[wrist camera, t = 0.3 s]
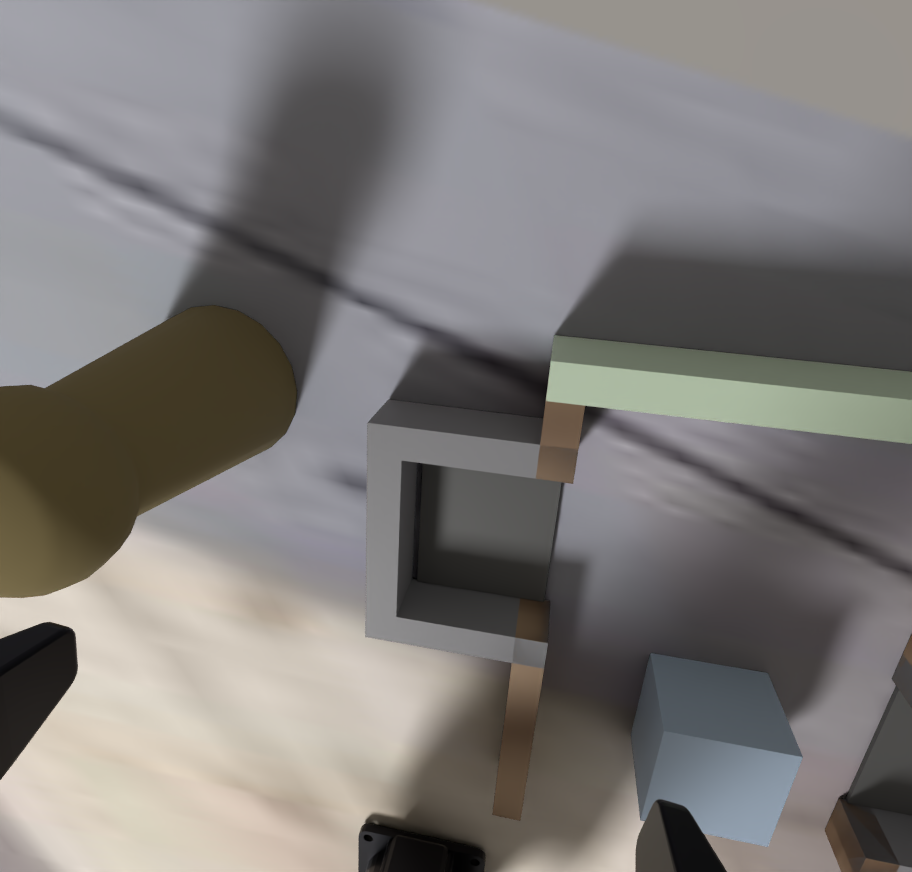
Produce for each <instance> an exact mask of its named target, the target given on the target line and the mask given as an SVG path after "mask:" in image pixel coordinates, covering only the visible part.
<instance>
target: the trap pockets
mask: <svg viewBox="0 0 912 872" xmlns="http://www.w3.org/2000/svg"><path fill="white" fill-rule="evenodd" d="M542 425H543V418H536V417H528V416H520V415H512V414H504V413H495V412H487V411H479V410H471V409H462V408H454V407H446V406H438V405H430V404H421V403H413V402H405V401H397V400H388V401H387V402H386V403H385V404H384V405H383V406H382V407H381V408H380V409H379V411H378V412H377V413H376V414H375V415H374V416H373V417H372V418H371V419H370V421H369V422H368V423H367V521H366V621H365V637H369V638H374V639H380V640H386V641H391V642H397V643H402V644H408V645H413V646H419V647H425V648H430V649H436V650H441V651H447V652H453V653H458V654H464V655H469V656H475V657H480V658H486V659H492V660H497V661H503V662H508V663H512V662H513V661H514V662H513V663H514V664H517V663H519V664H521V665H522V664H523V663H524V664H523V665H525V666H531V667H534V666H535V667H536V666H537V667H536V668H540V667H541V668H542V667H543V666H545V662H544V661H545V660H546V657H544V656H546V653H547V646H548V643H547V642H545V643H544V641H543V643H542V642H537V641H532V640H531V641H530V640H526V639H520V638H517V639H516V638H515V635H516V627H517V619H518V611H519V603H520V598H522V599H529V600H535V601H541V602H544V598H545V591H546V584H547V578H548V571H549V564H550V557H551V550H552V544H553V537H554V530H555V523H556V517H557V510H558V503H559V496H560V490H561V483H562V482H557V481H553V480H552V479H551V480H552V481H551V480H550V481H549V480H548V479H547V480H542V478H541V477H542V476H541V477H540V478H541V479H537V478H536V476H537V475H536V473H537V465H538V461H539V460H538V458H539V456H540V455H539V449H540V448H541V446H540V442H541V433H542ZM544 447H545V446H544ZM552 447H553V446H552ZM545 448H547V446H546V447H545ZM555 448H556V447H555ZM548 449H549V448H548ZM556 449H558V448H556ZM559 449H560V448H559ZM560 450H561V449H560ZM562 450H563V451H564V452H566V451H567V450H568V448H567V450H564V449H562ZM573 450H575V449H573ZM543 451H544V450H543ZM553 451H554V450H553ZM555 451H556V450H555ZM557 451H559V450H557ZM570 451H572V449H570ZM570 451H569V452H570ZM551 452H552V451H551ZM561 452H562V451H561ZM561 452H560V453H561ZM576 452H577V449H576ZM576 452H575V453H576ZM545 453H546V452H545ZM548 453H549V452H548ZM552 453H553V452H552ZM556 453H557V452H556ZM572 453H573V452H572ZM572 453H571V455H574V453H573V454H572ZM564 454H565V453H564ZM566 454H567V453H566ZM543 455H544V454H543ZM558 455H559V454H558ZM556 456H557V454H556ZM560 456H561V455H560ZM560 456H559V457H560ZM562 456H563V455H562ZM562 456H561V458H563V457H562ZM545 457H548V455H547V456H545ZM551 457H552V456H551ZM559 457H558V458H559ZM564 457H565V455H564ZM567 457H568V456H566V458H567ZM542 458H543V457H542ZM553 458H554V457H553ZM556 458H557V457H556ZM561 458H560V459H561ZM570 458H571V456H570ZM574 458H575V457H574ZM544 459H545V458H544ZM545 460H546V459H545ZM557 460H558V459H557ZM561 460H562V459H561ZM563 460H564V459H563ZM565 460H566V459H565ZM565 460H564V461H565ZM569 460H570V459H569ZM571 460H572V459H571ZM571 460H570V461H571ZM550 461H551V460H550ZM572 461H573V460H572ZM572 461H571V462H572ZM543 462H544V461H543ZM551 462H552V461H551ZM553 462H554V461H553ZM556 462H557V461H556ZM559 462H560V461H559ZM574 462H575V461H574ZM574 462H573V463H574ZM417 463H423V470H422V490H421V510H420V531H419V551H418V572H417V579H412V573H413V551H414V529H415V507H416V484H417ZM563 463H564V462H563ZM542 464H543V463H542ZM544 464H545V463H544ZM548 464H549V463H548ZM550 464H551V463H550ZM556 464H557V463H556ZM561 464H562V463H561ZM569 464H570V463H569ZM545 465H546V464H545ZM559 465H560V463H559ZM571 465H572V464H571ZM572 466H573V465H572ZM552 467H553V466H552ZM562 467H563V466H562ZM562 467H561V469H562ZM547 468H548V467H547ZM567 468H569V466H568V467H567ZM571 468H572V467H571ZM552 470H553V469H552ZM566 470H567V469H566ZM568 470H569V469H568ZM542 471H543V469H542ZM554 471H555V470H554ZM560 471H561V470H560ZM544 472H545V471H544ZM566 472H568V471H566ZM556 473H557V471H556ZM562 473H563V471H562ZM570 473H571V472H570ZM539 474H540V473H539ZM547 474H548V473H547ZM559 474H560V473H559ZM540 475H541V474H540ZM554 475H555V474H554ZM557 475H558V474H557ZM557 475H556V476H557ZM545 476H546V475H545ZM551 476H552V475H551ZM558 476H560V475H558ZM563 476H564V475H563ZM569 476H570V475H569ZM549 477H550V475H549ZM573 477H574V475H573ZM573 477H572V478H573ZM547 478H548V477H547ZM564 478H565V477H564ZM568 478H569V477H568ZM568 478H567V479H568ZM572 478H571V479H572ZM543 479H544V478H543ZM565 479H566V478H565ZM556 480H557V479H556ZM558 481H559V480H558ZM571 481H572V480H571ZM565 483H566V482H565ZM545 601H547V600H545ZM540 604H541V603H540ZM543 604H544V603H543ZM545 604H547V605H546V606H548V604H549V606H548V607H549V609H550V602H549V601H548V603H545ZM546 606H545V605H544V608H545V607H546ZM541 607H542V606H541ZM541 607H540V608H541ZM542 609H543V608H542ZM545 609H547V608H545ZM549 609H548V610H547V611H546V612H545V613H544V614H545V615H546V613H547V615H548V617H549V614H550V610H549ZM548 611H549V613H548ZM537 612H538V611H537ZM544 614H543V615H544ZM540 615H541V614H540ZM547 615H546V616H547ZM535 616H536V615H535ZM544 617H545V616H544ZM548 617H546V618H547V620H546V621H545V619H544V618H543V619H544V620H543V619H542V620H543V622H544V621H545V622H546V623H547V621H548V622H549V620H548ZM532 618H533V617H532ZM545 622H544V623H545ZM547 625H548V623H547ZM547 625H546V626H545V627H546V628H547V629H546V628H545V629H546V630H548V631H549V629H548V628H549V627H548V626H549V625H548V626H547ZM540 626H541V625H540ZM542 626H544V625H542ZM542 626H541V627H542ZM545 629H544V630H545ZM544 630H543V631H544ZM548 631H546V632H548ZM541 634H542V633H541ZM541 634H540V635H541ZM547 634H549V632H548V633H547ZM547 634H546V635H547ZM542 636H543V638H544V636H545V633H544V635H542ZM542 636H539V638H540V637H542ZM541 639H542V638H541ZM545 639H546V640H545V641H547V640H548V636H546V637H545ZM518 640H519V642H518ZM524 640H525V641H524ZM534 640H535V639H534ZM543 640H544V639H543ZM516 641H517V642H516ZM541 641H542V640H541ZM520 642H521V643H520ZM524 642H525V643H524ZM516 643H517V644H516ZM523 643H524V644H523ZM539 643H540V644H539ZM527 644H528V646H527ZM530 644H531V645H530ZM518 645H520V647H519V646H518ZM522 645H523V646H522ZM529 645H530V646H529ZM535 645H536V646H535ZM515 646H517V647H515ZM537 646H538V647H537ZM521 647H522V649H521V650H520V648H521ZM531 647H532V648H531ZM545 647H546V648H545ZM514 648H515V649H514ZM516 649H517V650H518V652H520V653H518V652H517V650H516ZM527 649H528V650H529V649H531V650H529V651H528V652H527ZM515 650H516V652H515ZM522 650H523V651H522ZM524 650H525V651H524ZM532 650H533V651H532ZM537 650H538V651H537ZM513 651H514V652H513ZM535 651H536V652H535ZM540 651H541V652H540ZM517 653H518V654H517ZM527 653H528V654H527ZM516 654H517V655H516ZM540 654H541V655H540ZM513 655H514V656H513ZM518 655H519V656H518ZM524 655H525V658H524ZM526 655H527V657H526ZM529 655H531V656H529ZM537 655H538V656H537ZM542 655H543V656H542ZM515 656H516V657H515ZM528 656H529V657H528ZM534 656H535V657H534ZM513 657H515V659H514V658H513ZM520 657H521V658H520ZM531 657H532V658H533V659H532V658H531ZM902 657H904V656H903V655H902ZM902 657H901V658H902ZM516 658H517V659H516ZM518 658H519V659H518ZM540 658H541V659H540ZM523 659H525V660H523ZM526 659H527V660H526ZM904 659H905V658H904ZM904 659H902V660H903V661H904ZM512 660H513V661H512ZM516 660H517V661H516ZM518 660H519V661H520V660H521V661H520V662H521V663H520V662H519V661H518ZM542 660H543V661H542ZM900 660H901V659H900ZM902 660H901V661H900V662H901V665H902V663H904V665H902V666H901V668H900V666H899V665H900V664H898V666H897V668H896V671H895V673H894V675H893V678H892V680H893V681H894V680H895V679H896V680H895V681H894V683H895V682H896V688H895V690H894V692H893V695H892V697H891V699H890V701H889V703H888V706H887V708H886V710H885V712H884V715H883V717H882V719H881V721H880V724H879V726H878V728H877V730H876V732H875V735H874V737H873V739H872V741H871V744H870V746H869V748H868V750H867V752H866V755H865V757H864V759H863V761H862V764H861V766H860V768H859V770H858V772H857V775H856V777H855V779H854V781H853V784H852V786H851V788H850V790H849V792H848V795H847V797H846V799H841V798H840V799H841V801H843V800H844V803H846V802H847V803H848V804H849V803H850V804H852V805H853V806H851V807H853V808H854V806H855V805H856V807H858V806H859V809H860V811H861V810H863V809H864V810H865V813H866V814H867V816H866V815H864V817H865V816H866V817H867V818H866V817H865V818H864V819H868V818H871V817H872V815H874V816H876V817H874V816H873V819H874V818H876V819H877V820H878V821H877V820H875V819H874V820H875V822H876V821H877V822H878V823H879V824H880V826H881V828H882V829H881V828H880V827H878V831H879V832H880V831H881V830H882V831H883V832H881V833H882V834H883V835H884V836H883V835H882V838H880V837H879V838H880V839H883V837H885V836H886V837H885V838H886V839H887V841H886V840H884V839H883V840H884V841H886V842H889V844H890V847H891V848H890V847H889V845H888V844H887V843H883V842H882V840H879V841H881V843H883V844H884V845H886V844H887V845H886V846H887V848H886V846H884V845H883V846H884V847H883V846H882V844H880V843H879V842H877V841H878V840H877V839H878V838H877V839H876V838H875V837H874V835H876V837H878V836H877V835H878V833H877V834H872V835H871V833H872V832H870V831H871V830H870V829H871V828H869V829H868V828H867V827H866V826H865V827H864V825H863V824H864V823H863V822H862V823H860V821H859V820H858V819H859V818H858V817H856V813H857V810H856V811H855V810H854V809H855V808H854V809H853V810H854V811H855V812H856V813H855V818H854V814H853V813H852V812H853V811H852V810H851V809H852V808H851V809H850V810H851V811H850V810H849V809H847V808H848V804H847V803H846V804H847V807H846V805H845V804H844V803H843V802H842V803H843V804H844V805H843V804H842V803H840V802H841V801H840V802H839V803H840V804H842V805H843V807H842V808H844V807H845V808H844V809H843V812H844V810H845V809H846V810H845V812H846V814H847V813H848V814H847V815H848V817H849V818H851V819H849V818H847V820H848V819H849V822H848V823H847V822H846V821H844V822H846V823H847V824H849V823H850V824H853V825H852V827H853V828H852V829H853V830H852V831H854V830H855V831H854V833H852V836H853V834H854V835H855V837H856V838H857V839H856V838H855V839H856V840H858V842H859V843H861V845H860V846H861V850H862V851H865V852H863V854H864V853H865V854H864V855H865V856H866V854H867V857H866V858H867V859H868V858H869V859H871V858H872V857H873V858H872V860H873V861H874V859H875V860H877V861H878V862H879V861H880V862H881V861H882V862H884V861H885V860H886V861H885V864H883V865H886V863H890V862H892V863H891V864H895V865H894V866H896V865H899V864H900V866H896V867H895V868H897V867H898V869H896V870H897V872H912V708H911V707H912V705H911V706H910V704H912V702H911V701H912V688H911V687H912V671H911V670H912V667H911V664H910V663H909V662H908V660H905V661H904V662H903V661H902ZM530 661H531V662H530ZM541 661H542V662H541ZM516 662H517V663H516ZM529 662H530V665H529ZM535 662H537V663H535ZM534 663H535V665H534ZM543 663H544V665H543ZM908 663H909V664H910V665H909V664H908ZM537 664H538V665H537ZM532 665H533V666H532ZM538 666H539V667H538ZM909 666H910V667H909ZM905 667H906V668H905ZM907 667H908V668H907ZM543 669H544V667H543ZM900 669H902V671H901V670H900ZM898 670H899V672H898ZM897 672H898V673H899V674H898V673H897ZM901 672H902V673H903V674H902V673H901ZM908 672H909V673H908ZM907 673H908V674H907ZM902 675H903V676H902ZM910 676H911V677H910ZM898 677H900V679H901V680H900V679H899V678H898ZM901 677H902V678H901ZM908 677H909V678H908ZM894 678H895V679H894ZM897 679H898V680H897ZM905 679H906V680H905ZM908 680H909V681H908ZM899 681H900V682H899ZM904 681H905V682H904ZM897 683H899V684H897ZM904 683H905V684H904ZM907 683H908V684H907ZM909 683H910V684H909ZM901 684H902V686H903V687H902V686H901ZM906 684H907V685H906ZM905 685H906V686H905ZM908 686H909V687H908ZM910 686H911V687H910ZM899 687H900V688H901V689H900V688H899ZM905 687H906V688H905ZM904 688H905V689H904ZM907 688H908V689H907ZM900 690H901V691H900ZM903 690H904V691H903ZM908 691H909V693H911V694H909V693H908ZM902 692H903V693H902ZM906 692H907V693H906ZM905 693H906V694H905ZM902 694H903V695H902ZM904 694H905V695H904ZM907 695H908V696H907ZM909 695H910V696H909ZM906 696H907V697H906ZM905 698H906V699H905ZM910 698H911V699H910ZM907 700H908V701H907ZM908 702H909V704H908ZM910 702H911V703H910ZM846 800H847V801H846ZM845 801H846V802H845ZM840 804H838V805H840ZM842 805H841V806H842ZM865 806H866V807H865ZM837 807H838V809H839V806H837ZM861 807H862V808H861ZM842 808H841V809H842ZM849 808H850V806H849ZM865 808H866V809H865ZM868 808H869V810H868ZM841 809H840V810H841ZM857 809H858V808H857ZM859 809H858V815H857V816H859V815H860V813H861V812H860V813H859ZM847 810H849V812H848V811H847ZM864 810H863V811H864ZM866 810H867V811H866ZM841 811H842V810H841ZM868 811H869V812H870V813H871V816H870V815H869V812H868ZM850 812H851V813H850ZM867 812H868V813H867ZM835 813H836V812H835ZM836 814H837V813H836ZM849 814H850V815H849ZM832 815H834V814H832ZM843 815H844V814H843ZM851 815H852V816H853V817H852V816H851ZM861 815H862V816H861V817H862V818H863V814H862V813H861ZM868 815H869V816H870V817H868ZM837 817H838V816H837ZM839 817H841V816H840V815H839ZM846 817H847V816H846ZM859 817H860V816H859ZM861 817H860V818H861ZM857 818H858V819H857ZM862 818H861V819H862ZM839 819H840V818H839ZM871 819H872V818H871ZM842 820H843V819H842ZM845 820H846V818H845ZM850 820H852V821H850ZM853 820H855V821H853ZM856 820H857V821H856ZM874 820H871V821H872V822H873V821H874ZM832 821H833V820H832ZM834 821H835V820H834ZM862 821H863V820H862ZM864 821H865V820H864ZM867 821H868V820H867ZM867 821H865V823H868V824H871V823H872V822H871V821H870V819H869V821H870V822H871V823H869V822H867ZM853 822H855V823H853ZM877 822H876V823H875V825H876V824H878V823H877ZM858 824H859V825H858ZM860 824H861V825H860ZM879 824H878V826H879ZM833 825H834V823H833ZM835 825H836V823H835ZM854 825H855V826H856V828H857V829H854V828H855V826H854ZM866 825H867V824H866ZM871 825H872V824H871ZM873 825H874V823H873ZM873 825H872V826H873ZM842 826H843V825H842ZM849 826H850V825H849ZM861 826H862V827H863V828H862V827H861ZM867 826H868V825H867ZM869 826H870V825H869ZM835 827H836V826H835ZM837 827H838V826H837ZM873 827H874V826H873ZM873 827H872V828H873ZM875 827H877V825H876V826H875ZM849 828H850V829H851V827H849ZM864 828H865V829H866V830H865V829H864ZM879 828H880V829H879ZM847 829H848V828H847ZM850 829H849V830H850ZM858 829H859V831H860V832H861V833H860V832H859V831H858ZM860 829H862V830H860ZM867 829H868V830H869V833H868V832H867V831H868V830H867ZM841 830H842V829H841ZM845 830H846V828H845ZM845 830H844V831H845ZM849 830H848V833H849ZM856 830H857V831H856ZM875 830H876V829H875ZM852 831H851V832H852ZM872 831H873V832H874V829H873V830H872ZM878 831H877V830H876V832H878ZM846 832H847V831H846ZM856 832H857V833H856ZM864 832H865V833H864ZM876 832H875V833H876ZM838 833H839V832H838ZM858 833H859V834H860V835H861V836H859V834H858ZM862 833H863V835H864V836H862ZM845 834H846V833H845ZM850 834H851V833H850ZM856 834H857V836H858V837H857V836H856ZM867 835H868V836H867ZM879 835H880V836H881V834H880V833H879ZM853 837H854V836H853ZM859 837H860V838H859ZM864 837H866V838H864ZM871 837H872V838H871ZM870 839H871V840H870ZM859 840H861V841H863V842H861V841H859ZM872 840H873V841H874V842H873V841H872ZM848 841H849V840H848ZM866 841H867V842H866ZM856 842H857V841H856ZM864 842H865V843H864ZM870 842H871V843H870ZM847 843H848V842H847ZM873 843H874V844H873ZM848 844H850V843H848ZM862 844H863V845H862ZM876 844H878V845H876ZM851 845H852V844H851ZM851 845H850V846H851ZM854 845H856V844H854ZM866 845H867V846H868V847H867V846H866ZM845 846H846V845H845ZM864 846H866V847H864ZM870 846H871V847H870ZM875 846H876V847H875ZM857 847H858V846H857ZM857 847H856V848H857ZM869 847H870V848H869ZM848 848H849V847H848ZM858 848H859V847H858ZM862 848H863V849H864V850H863V849H862ZM867 848H868V849H867ZM876 848H877V850H876ZM883 848H884V849H883ZM885 848H886V849H887V850H886V849H885ZM888 848H890V852H891V851H893V853H892V852H891V854H889V852H888V851H889V850H888ZM846 849H847V848H846ZM866 849H867V850H868V851H867V850H866ZM858 850H859V849H858ZM872 850H873V851H872ZM879 850H880V851H881V852H880V851H879ZM882 850H883V851H884V852H883V851H882ZM845 851H846V850H845ZM852 851H853V850H852ZM875 851H876V852H875ZM877 851H878V852H877ZM886 851H887V852H888V853H887V852H886ZM858 852H859V851H858ZM869 852H870V853H869ZM872 852H873V853H872ZM848 853H849V852H848ZM859 853H860V852H859ZM871 853H872V854H871ZM880 853H881V854H880ZM886 853H887V854H886ZM863 854H862V855H863ZM873 854H874V855H873ZM877 854H878V857H877V856H876V855H877ZM882 854H883V855H882ZM892 854H895V855H894V856H895V857H894V856H893V857H894V858H895V859H897V860H898V863H897V860H895V859H894V858H893V857H892ZM848 855H849V854H848ZM868 855H869V856H870V857H869V856H868ZM874 856H875V857H874ZM884 856H885V857H884ZM889 856H890V857H889ZM852 857H853V856H852ZM863 857H864V856H863ZM860 858H861V857H859V858H858V857H857V859H856V858H855V859H856V862H857V861H859V860H862V859H860ZM866 858H863V859H864V860H862V861H859V862H861V863H862V866H863V862H865V859H866ZM882 858H883V859H882ZM848 859H849V858H848ZM867 859H866V860H867ZM879 859H880V860H879ZM850 860H851V859H850ZM852 860H853V859H852ZM852 860H851V861H850V862H852ZM891 860H894V861H896V862H894V861H891ZM848 861H849V860H848ZM868 861H870V860H868ZM850 862H849V863H850ZM859 862H857V863H859ZM880 862H879V863H880ZM857 863H856V864H857ZM873 863H874V864H875V861H874V862H873ZM852 864H853V863H852ZM866 864H867V863H866ZM868 864H869V863H868ZM876 864H877V862H876ZM853 865H854V864H853ZM853 865H852V867H853ZM859 865H860V866H861V864H859ZM864 865H865V864H864ZM862 866H861V867H859V866H857V867H856V865H855V867H856V868H855V867H854V869H857V868H858V869H859V868H860V870H858V869H857V871H861V868H862ZM872 866H873V865H872ZM865 867H866V866H865ZM877 867H878V866H877ZM877 867H876V868H877ZM882 867H884V866H882ZM882 867H881V868H880V869H882ZM885 867H886V866H885ZM885 867H884V869H885ZM891 867H893V866H891ZM863 868H864V866H863ZM868 868H869V869H870V872H871V871H872V870H873V869H871V868H870V867H869V866H868ZM868 868H867V870H868ZM889 868H890V865H889ZM864 869H865V868H864ZM864 869H863V870H864ZM890 869H891V868H890ZM867 870H865V871H867ZM874 870H875V869H874ZM887 870H888V869H887ZM891 870H892V869H891ZM893 870H894V867H893ZM896 870H895V871H896ZM881 871H882V872H883V870H880V871H879V872H881ZM884 871H885V870H884ZM853 872H855V871H853ZM861 872H862V871H861ZM863 872H864V871H863ZM873 872H874V871H873ZM875 872H877V869H876V871H875ZM886 872H887V871H886ZM889 872H890V871H889Z"/></svg>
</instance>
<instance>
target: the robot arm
mask: <svg viewBox="0 0 912 872" xmlns="http://www.w3.org/2000/svg"><path fill="white" fill-rule="evenodd" d="M77 670H78V662H77V648H76V636H75V632H74V631H73V629H71V628H69V627H66V626H63V625H59V624H56V623H52V622H46V623H41V624H38V625H36V626H33V627H30V628H28V629H25V630H23V631H20V632H17V633H15V634H12V635H9V636H7V637H4V638H1V639H0V780H1V779H2V777H3V776H4V775H5V773H6V772H7V771H8V770H9V768H10V767H11V766H12V764H13V763H14V762H15V760H16V759H17V758H18V756H19V755H20V754H21V752H22V751H23V750H24V748H25V747H26V746H27V744H28V743H29V742H30V740H31V739H32V737H33V736H34V735H35V733H36V732H37V731H38V729H39V728H40V727H41V725H42V724H43V723H44V721H45V720H46V719H47V717H48V716H49V714H50V713H51V712H52V710H53V709H54V708H55V706H56V705H57V704H58V702H59V701H60V700H61V698H62V697H63V696H64V694H65V693H66V691H67V690H68V689H69V687H70V686H71V684H72V683H73V681H74V679H75V677H76V674H77ZM485 859H486V855H485V853H484V851H482V850H481V849H479V848H476V847H471V846H467V845H462V844H458V843H453V842H449V841H444V840H440V839H436V838H431V837H427V836H422V835H418V834H413V833H409V832H404V831H400V830H395V829H391V828H386V827H382V826H377V825H373V824H364V825H363V826H362V828H361V831H360V834H359V872H484V866H485ZM636 872H727V871H726V870H725V868H724V866H723V865H722V863H721V861H720V860H719V858H718V857H717V855H716V853H715V852H714V850H713V848H712V847H711V845H710V844H709V842H708V840H707V839H706V837H705V835H704V834H703V832H702V831H701V829H700V827H699V826H698V824H697V822H696V821H695V819H694V817H693V816H692V814H691V813H690V811H689V810H688V809H687V808H686V807H684V806H683V805H680V804H677V803H673V802H670V801H666V800H663V799H658V800H656V801H655V802H654V803H653V805H652V807H651V809H650V811H649V813H648V816H647V818H646V820H645V822H644V824H643V827H642V829H641V831H640V833H639V836H638V839H637V845H636Z"/></svg>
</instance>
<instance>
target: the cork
mask: <svg viewBox="0 0 912 872" xmlns="http://www.w3.org/2000/svg"><path fill="white" fill-rule="evenodd" d="M296 398H297V388H296V384H295V379H294V374H293V370H292V366H291V364H290V362H289V361H288V359H287V357H286V355H285V353H284V351H283V349H282V348H281V346H280V344H279V343H278V342H277V341H276V340H275V339H274V338H273V336H272V335H271V334H270V333H269V332H268V331H267V330H266V329H265V328H264V327H263V326H262V325H261V324H260V323H258V322H256V321H254V320H253V319H251V318H249V317H248V316H246V315H244V314H243V313H241V312H239V311H237V310H232V309H228V308H224V307H220V306H216V305H210V306H200V307H191V308H189V309H187V310H185V311H184V312H182V313H180V314H178V315H176V316H174V317H172V318H170V319H168V320H167V321H165V322H163V323H161V324H159V325H158V326H156V327H154V328H152V329H150V330H149V331H147V332H145V333H143V334H141V335H140V336H138V337H136V338H134V339H133V340H131V341H129V342H127V343H125V344H124V345H122V346H120V347H118V348H116V349H115V350H113V351H111V352H109V353H107V354H106V355H104V356H102V357H100V358H98V359H97V360H95V361H93V362H91V363H89V364H88V365H86V366H84V367H82V368H80V369H79V370H77V371H75V372H73V373H71V374H70V375H68V376H66V377H64V378H62V379H61V380H59V381H57V382H55V383H53V384H52V385H50V386H48V387H46V388H41V387H37V386H33V385H20V386H3V387H0V597H7V598H24V597H34V596H43V595H47V594H50V593H52V592H55V591H58V590H61V589H63V588H66V587H68V586H71V585H73V584H75V583H78V582H80V581H82V580H84V579H87V578H88V577H89V576H90V575H92V574H93V573H94V572H95V571H97V570H98V569H99V568H100V567H101V566H103V565H104V564H105V563H106V562H107V561H108V560H109V559H110V558H111V557H112V556H113V555H114V554H115V553H116V552H117V551H118V550H119V549H120V548H121V546H122V545H123V543H124V542H125V540H126V539H127V538H128V536H129V535H130V533H131V531H132V528H133V525H134V523H135V520H136V517H137V516H139V515H141V514H142V513H144V512H146V511H148V510H150V509H152V508H154V507H156V506H158V505H160V504H162V503H164V502H166V501H168V500H170V499H172V498H173V497H175V496H177V495H179V494H181V493H183V492H185V491H187V490H189V489H191V488H193V487H195V486H197V485H199V484H201V483H203V482H205V481H206V480H208V479H210V478H212V477H214V476H216V475H218V474H220V473H222V472H224V471H226V470H228V469H230V468H232V467H234V466H236V465H237V464H239V463H241V462H243V461H245V460H247V459H249V458H251V457H253V456H255V455H257V454H259V453H261V452H263V451H265V450H267V449H269V448H270V447H272V446H273V445H274V444H275V443H276V442H277V441H278V440H279V439H280V438H281V437H282V436H283V435H285V434H286V432H287V430H288V428H289V426H290V423H291V421H292V419H293V417H294V415H295V409H296Z"/></svg>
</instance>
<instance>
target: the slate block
mask: <svg viewBox="0 0 912 872" xmlns="http://www.w3.org/2000/svg"><path fill="white" fill-rule="evenodd" d="M631 741H632V750H633V758H634V767H635V776H636V785H637V794H638V803H639V812H640V820H642V821H645V820H646V818H647V816H648V813H649V811H650V809H651V807H652V805H653V803H654V802H655V801H656V800H658V799H663V800H666V801H670V802H673V803H677V804H680V805H683V806H684V807H686V808H687V809H688V810H689V811H690V813H691V814H692V816H693V817H694V819H695V821H696V822H697V824H698V826H699V827H700V829H701V831H702V832H703V833H704V834H708V835H713V836H718V837H723V838H728V839H732V840H737V841H742V842H747V843H751V844H756V845H761V846H766V847H768V845H769V842H770V840H771V837H772V835H773V832H774V830H775V827H776V825H777V822H778V819H779V817H780V814H781V812H782V809H783V807H784V804H785V802H786V799H787V796H788V794H789V791H790V789H791V786H792V784H793V781H794V779H795V776H796V774H797V771H798V768H799V766H800V763H801V761H802V758H803V756H802V754H801V752H800V749H799V747H798V744H797V742H796V740H795V737H794V735H793V732H792V730H791V728H790V725H789V723H788V720H787V718H786V716H785V713H784V711H783V708H782V706H781V703H780V701H779V699H778V696H777V694H776V691H775V689H774V687H773V684H772V682H771V679H770V677H769V675H768V673H765V672H759V671H753V670H747V669H741V668H736V667H730V666H724V665H718V664H712V663H706V662H700V661H695V660H689V659H683V658H677V657H671V656H665V655H659V654H654V653H650V657H649V661H648V665H647V669H646V673H645V678H644V682H643V686H642V690H641V694H640V698H639V703H638V707H637V711H636V715H635V719H634V724H633V728H632V732H631Z"/></svg>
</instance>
